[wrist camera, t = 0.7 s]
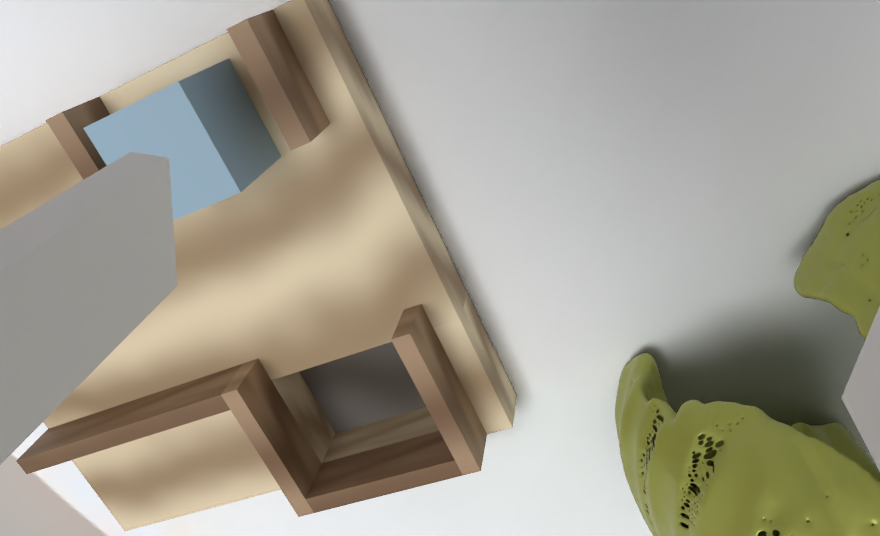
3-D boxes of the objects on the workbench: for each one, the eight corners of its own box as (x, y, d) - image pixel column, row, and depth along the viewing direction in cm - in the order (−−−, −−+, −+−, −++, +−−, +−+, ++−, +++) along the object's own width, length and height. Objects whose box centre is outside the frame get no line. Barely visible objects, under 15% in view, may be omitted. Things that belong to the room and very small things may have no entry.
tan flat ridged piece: (-77, 187, 44) (-166, 227, 39) (322, -13, 36) (277, 3, 31) (147, 498, 52) (99, 567, 47) (516, 395, 44) (507, 463, 39)
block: (143, 100, 37) (83, 128, 32) (228, 58, 35) (178, 81, 31) (197, 192, 38) (147, 231, 34) (281, 156, 37) (240, 192, 32)
